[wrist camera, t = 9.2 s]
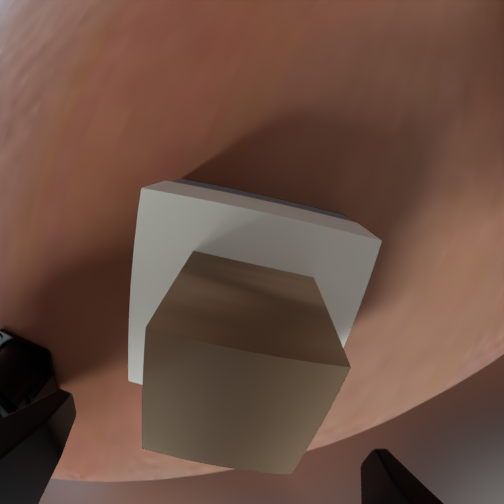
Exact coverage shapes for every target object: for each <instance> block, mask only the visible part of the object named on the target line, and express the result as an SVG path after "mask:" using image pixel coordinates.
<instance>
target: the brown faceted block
mask: <svg viewBox="0 0 504 504" xmlns="http://www.w3.org/2000/svg"><path fill="white" fill-rule="evenodd" d="M350 368H351V367H350V364H349V362H348V359H347V356H346V354H345V351H344V349H343V346H342V344H341V341H340V339H339V337H338V334H337V332H336V329H335V327H334V324H333V322H332V319H331V317H330V315H329V312H328V310H327V307H326V305H325V303H324V300H323V298H322V296H321V293H320V291H319V289H318V286H317V284H316V282H315V279H314V277H309V276H305V275H300V274H296V273H291V272H286V271H282V270H277V269H273V268H268V267H264V266H259V265H255V264H250V263H246V262H241V261H237V260H232V259H228V258H223V257H219V256H214V255H210V254H205V253H201V252H197V251H193V252H192V254H191V255H190V257H189V258H188V260H187V261H186V263H185V264H184V266H183V268H182V269H181V271H180V272H179V274H178V275H177V277H176V279H175V280H174V282H173V283H172V285H171V287H170V288H169V290H168V291H167V293H166V295H165V296H164V298H163V300H162V301H161V303H160V304H159V306H158V308H157V309H156V311H155V313H154V314H153V316H152V318H151V319H150V321H149V323H148V324H147V326H146V329H145V343H144V361H143V387H142V448H143V449H147V450H150V451H154V452H157V453H161V454H165V455H169V456H173V457H177V458H181V459H186V460H190V461H195V462H200V463H205V464H210V465H216V466H221V467H228V468H234V469H241V470H248V471H257V472H266V473H277V474H291V473H292V472H293V470H294V469H295V467H296V466H297V464H298V463H299V461H300V459H301V458H302V456H303V455H304V453H305V451H306V450H307V448H308V446H309V445H310V443H311V441H312V440H313V438H314V436H315V434H316V433H317V431H318V429H319V427H320V426H321V424H322V422H323V420H324V419H325V417H326V415H327V413H328V411H329V409H330V408H331V406H332V404H333V402H334V400H335V398H336V396H337V394H338V392H339V390H340V388H341V386H342V384H343V382H344V380H345V378H346V376H347V374H348V372H349V370H350Z"/></svg>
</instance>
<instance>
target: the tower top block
mask: <svg viewBox="0 0 504 504" xmlns="http://www.w3.org/2000/svg"><path fill="white" fill-rule="evenodd" d="M381 243H382V240H380V239H379V238H378V237H376V236H375V235H374V234H372V233H371V232H369V231H368V230H367V229H365V228H364V227H363V226H361V225H360V224H358V223H356V222H352V221H348V220H344V219H340V218H336V217H332V216H328V215H324V214H320V213H316V212H312V211H308V210H304V209H299V208H295V207H291V206H287V205H282V204H278V203H273V202H269V201H264V200H260V199H255V198H251V197H246V196H241V195H237V194H232V193H227V192H222V191H217V190H212V189H207V188H202V187H197V186H192V185H187V184H181V183H176V182H171V181H162V182H159V183H156V184H152V185H149V186H146V187H143V188H141V194H140V201H139V208H138V216H137V224H136V233H135V242H134V252H133V263H132V275H131V289H130V307H129V334H128V381H131V382H134V383H138V384H141V385H143V361H144V343H145V329H146V326H147V324H148V323H149V321H150V319H151V318H152V316H153V314H154V313H155V311H156V309H157V308H158V306H159V304H160V303H161V301H162V300H163V298H164V296H165V295H166V293H167V291H168V290H169V288H170V287H171V285H172V283H173V282H174V280H175V279H176V277H177V275H178V274H179V272H180V271H181V269H182V268H183V266H184V264H185V263H186V261H187V260H188V258H189V257H190V255H191V254H192V252H193V251H197V252H201V253H205V254H210V255H214V256H219V257H223V258H228V259H232V260H237V261H241V262H246V263H250V264H255V265H259V266H264V267H268V268H273V269H277V270H282V271H286V272H291V273H296V274H300V275H305V276H309V277H314V279H315V282H316V284H317V286H318V289H319V291H320V293H321V296H322V298H323V300H324V303H325V305H326V307H327V310H328V312H329V315H330V317H331V319H332V322H333V324H334V327H335V329H336V332H337V334H338V337H339V339H340V341H341V344H342V346H343V348H344V345H345V343H346V340H347V338H348V335H349V333H350V330H351V328H352V325H353V323H354V320H355V318H356V315H357V312H358V310H359V307H360V304H361V302H362V299H363V296H364V293H365V291H366V288H367V285H368V282H369V279H370V276H371V273H372V271H373V268H374V265H375V261H376V258H377V255H378V252H379V249H380V246H381Z"/></svg>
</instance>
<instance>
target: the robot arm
mask: <svg viewBox="0 0 504 504" xmlns="http://www.w3.org/2000/svg"><path fill="white" fill-rule="evenodd" d="M75 417H76V409H75V404H74V399H73V395H72V394H71V393H69V392H67V391H64V390H62V389H59V390H57V386H56V382H55V376H54V372H53V366H52V360H51V355H50V353H49V351H48V350H47V349H45V348H42V347H40V346H38V345H35V344H33V343H31V342H29V341H26V340H24V339H22V338H20V337H18V336H16V335H13V334H11V333H9V332H7V331H5V330H3V329H0V504H38V503H39V501H40V499H41V497H42V495H43V493H44V490H45V488H46V486H47V484H48V482H49V480H50V478H51V476H52V474H53V472H54V470H55V468H56V466H57V464H58V462H59V460H60V458H61V455H62V453H63V450H64V447H65V444H66V441H67V439H68V436H69V433H70V431H71V428H72V425H73V423H74V420H75ZM361 497H362V504H443V503H442V502H441V501H440V500H439V499H438V498H437V497H436V496H435V495H434V494H432V492H431V491H429V490H428V489H427V488H426V487H425V486H424V485H423V484H422V483H421V482H420V481H419V480H418V479H417V478H416V477H415V476H414V475H413V474H412V473H411V472H410V471H409V470H408V469H407V468H406V467H405V466H404V465H402V464H401V463H400V462H399V461H398V460H397V459H396V458H395V457H394V456H393V455H392V454H391V453H390V452H389V451H388V450H387V449H385V448H376V449H373V450H372V451H371V452H370V454H369V455H368V456H367V458H366V459H365V460H364V461H363V463H362V465H361Z"/></svg>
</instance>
